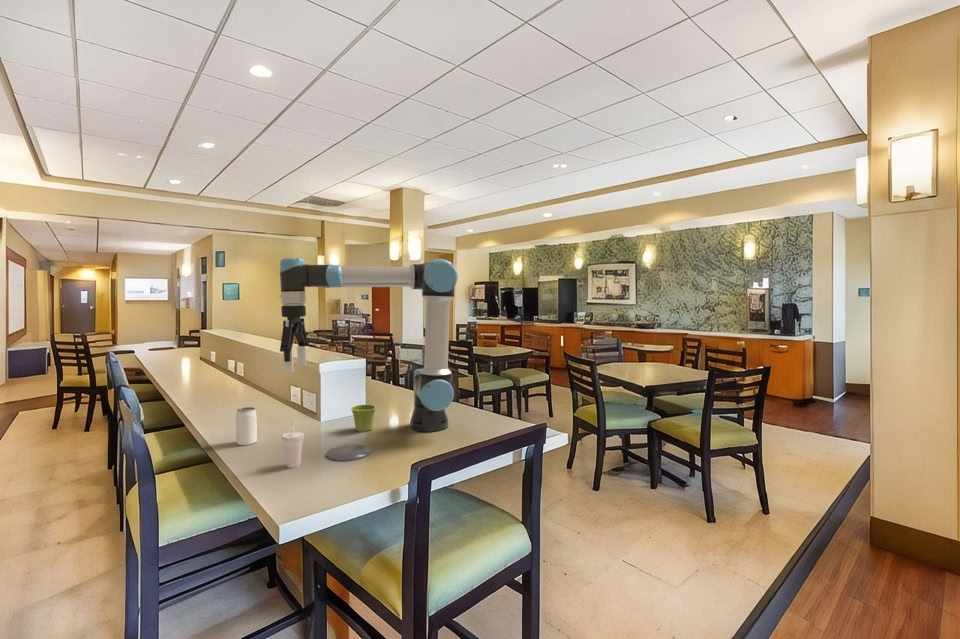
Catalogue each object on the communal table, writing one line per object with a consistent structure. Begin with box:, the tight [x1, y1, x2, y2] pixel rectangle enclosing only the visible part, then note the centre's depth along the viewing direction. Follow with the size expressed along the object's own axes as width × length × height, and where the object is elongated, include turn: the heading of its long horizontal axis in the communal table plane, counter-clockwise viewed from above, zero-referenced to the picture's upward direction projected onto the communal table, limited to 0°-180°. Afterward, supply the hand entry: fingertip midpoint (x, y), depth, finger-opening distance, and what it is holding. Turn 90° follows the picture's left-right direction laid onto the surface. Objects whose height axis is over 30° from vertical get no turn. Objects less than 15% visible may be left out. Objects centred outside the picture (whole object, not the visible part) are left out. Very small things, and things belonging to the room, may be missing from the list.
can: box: [235, 406, 258, 446], centre depth 162 cm, size 6×6×12 cm
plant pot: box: [350, 404, 377, 433], centre depth 178 cm, size 9×9×9 cm
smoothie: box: [281, 420, 305, 469], centre depth 141 cm, size 6×6×14 cm
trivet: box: [326, 444, 372, 462], centre depth 152 cm, size 14×14×1 cm
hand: (295, 368), depth 156 cm, fingers open, 13 cm apart
